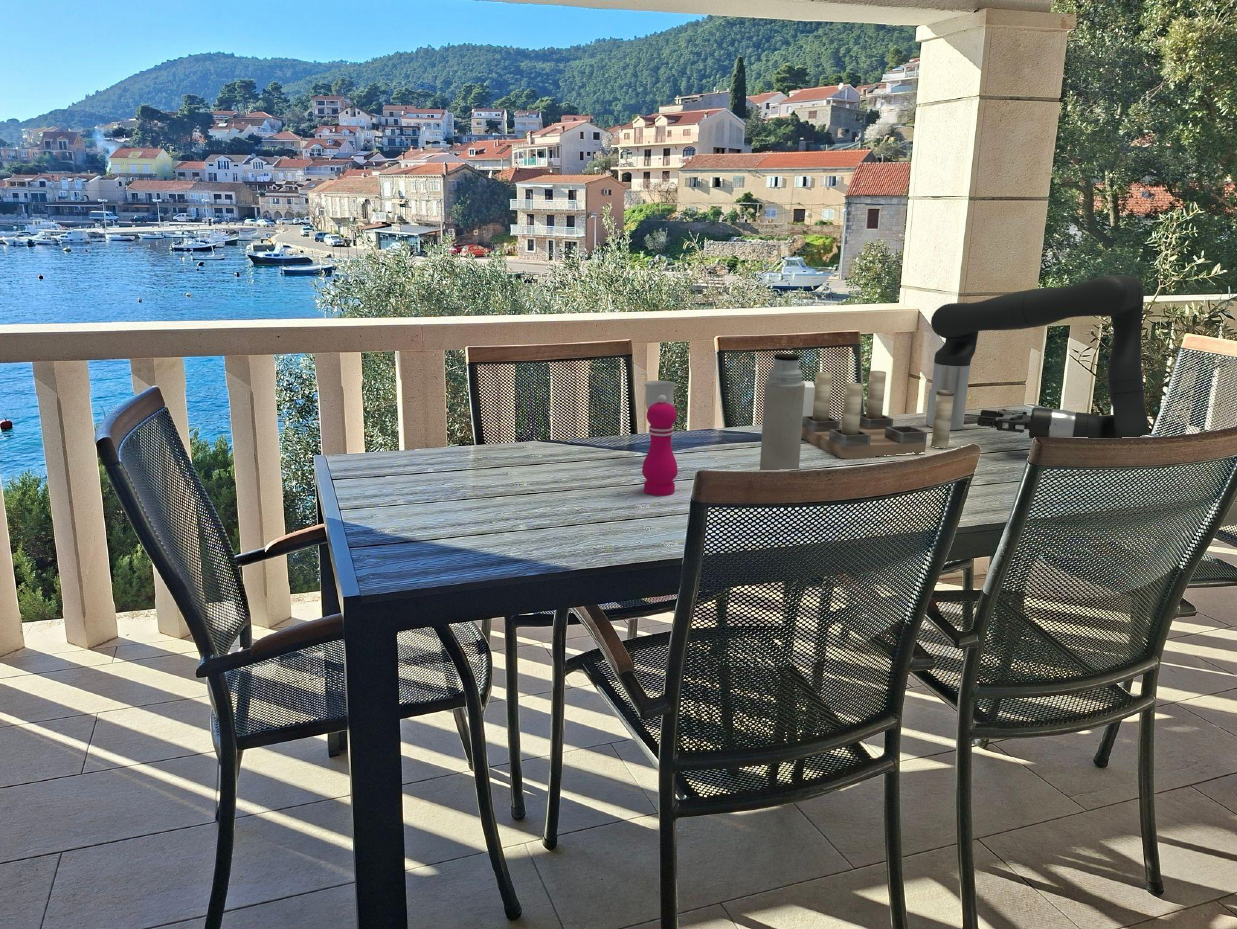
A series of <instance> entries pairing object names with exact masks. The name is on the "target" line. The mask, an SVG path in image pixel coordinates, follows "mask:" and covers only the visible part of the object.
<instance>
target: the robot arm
mask: <svg viewBox="0 0 1237 929" xmlns="http://www.w3.org/2000/svg"><path fill="white" fill-rule="evenodd" d="M1144 295H1145V293H1144V287H1143V285H1142V282H1141V281H1140V280H1139V279H1138V278H1136V277H1135V276H1133V275H1130V274H1129V275H1128V274H1108V275H1104V276H1101V277H1097V278H1094V279H1091V280H1087V281H1084V282H1080V283H1076V284H1073V285H1067V286H1053V287H1052V286H1051V287H1049V286H1048V287H1039V288H1032V289H1027V290H1021V291H1015V292H1012V293H1007V294H1003V295H999V296H996V297H992V298H989V299H984V300H982V301H976V302H954V303H946V304H944V305H941V306H939V307H938V308H937V309H936V310H935V311H934V312H933V314H932V316H931V319H930V325H931V328H932V331H933V332H934V333H935V334H936V335H937V336H938V337H940V338H943V339H945V341H944V344H943V345H942V346H941V347H940V349H938V350H937V351H936V352H935V354H934V360H933V369H932V370H933V371H932V378H931V387H930V389H929V391H928V399H927V409H926V410H927V411H926V419H925V423H926V424H927V426H928V427H930V428H932V429H933V424H934V414H935V405H936V396H937V390H950V391H954V399H953V408H952V417H951V426H950V431H956V430H957V431H958V430H962V429H963V428H964V423H965V416H966V415H965V414H966V407H967V406H966V405H967V399H968V398H967V396H968V387H969V379H970V370H971V362H972V359H973V357H974V355H975V352H976V348H977V342H978V337H979V333H980V332H981V331H1011V330H1012V331H1013V330H1025V329H1033V328H1038V327H1043V326H1047V325H1050V324H1053V323H1057V322H1059V321H1062V320H1066V319H1070V318H1076V317H1077V318H1078V317H1110V320H1111V323H1112V334H1113V335H1112V336H1113V338H1112V344H1111V345H1112V346H1111V350H1110V351H1111V352H1110V356H1109V360H1108V365H1107V383H1108V393H1109V401H1110V403H1111V406H1112V415H1099V414H1095V413H1088V412H1078V411H1076V412H1075V411H1073V410H1072V411H1070V410H1067V409H1066V410H1065V409H1058V408H1047V407H1037V406H1034V407H1032V409H1031V410H1032V411H1031V414H1028V412H1027V411H1022V410H1021V411H1019V410H1012V409H1004V408H1002V409H999V410H989V409H982V410H981V411H980V415H979V416H978V417H977V426H978V427H987V428H993V429H995V430H996V431H999V432H1011V433H1012V432H1013V433H1019V434H1023V433H1025V432H1024V431H1025V430H1028V438H1029V439H1031V440H1034V439H1033V438H1034V437H1088V438H1122V437H1140V436H1142V435H1149V436H1150V426H1149V420H1148V414H1147V410H1146V405H1145V386H1144V377H1143V376H1144V375H1143V368H1142V367H1143V366H1142V326H1143V310H1144V299H1145V296H1144Z"/></svg>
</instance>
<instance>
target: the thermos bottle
mask: <svg viewBox="0 0 1237 929" xmlns="http://www.w3.org/2000/svg"><path fill="white" fill-rule="evenodd" d="M773 356H774V357H773V359H774V362H773V368H771V369H769V372H768V374H767V376H768V379H767V380H765V381H764V391H763V392H764V394H763V410H762V427H761V442H760V444H761V446H760V460H759V471H760V470H779V469H800V460H801V459H800V458H801V448H802V446H801V445H802V444H801V443H802V438H801V434H802V420H803V405H804V391H805V383H804V382H802V381H803V377H804V375H803V372H802V370H800V368H799V364H800V363H799V359H800V355H798V354H795V353H776V354H774V355H773Z"/></svg>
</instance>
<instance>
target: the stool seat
mask: <svg viewBox="0 0 1237 929" xmlns="http://www.w3.org/2000/svg"><path fill="white" fill-rule="evenodd" d="M868 376H869V378H868V387H867V388H868V389H867V398H866V399H867V400H866V412H865V413H861V412H862V402H863V401H862V400H863V389H864V388H863V387H864V384H863V383H859V382H846V383H845V384H844V396H843V397H844V398H843V409H842V418H841V419H842V420H841V421H840V420H838V419H836V418H833V417H832V416H830V408H831V407H830V406H831V397H832V396H831V395H832V382H833V381H832V380H833V373H831V372H824V371H823V372H822V371H818V372H815V381H814V386H815V392H814V405H813V416H803V420H802V434H801V440H805V441H806V442H807V443H808V442H809V443H810V444H812V445H813V446H816V447H818V448H819V449H820V450H821V449H822V450H823V451H825V452H827V453H829V454H832V455H833V456H835V455H836V456H835V457H837V458H839V457H840V458H839V459H841V458H855V457H873V458H875V457H874V456H884V455H886V456H887V455H896V454H906V453H912V452H914V453H915V454H919V453H921V452H925V454H926V445H927V438H928V432H927V431H925V430H922V429H921V428H920V429H919V428H917V427H915V426H912V425H903V426H901V425H900V426H899V425H898V426H896V425H895V426H894V418H892V417H889V416H887V415H885V414H883V410H884V402H885V401H884V400H885V399H884V398H885V388H886V379H887V378H886V377H887V371H883V370H870V371H869V375H868ZM925 454H924V455H925ZM924 455H923V456H924ZM855 459H856V458H855Z"/></svg>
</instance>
